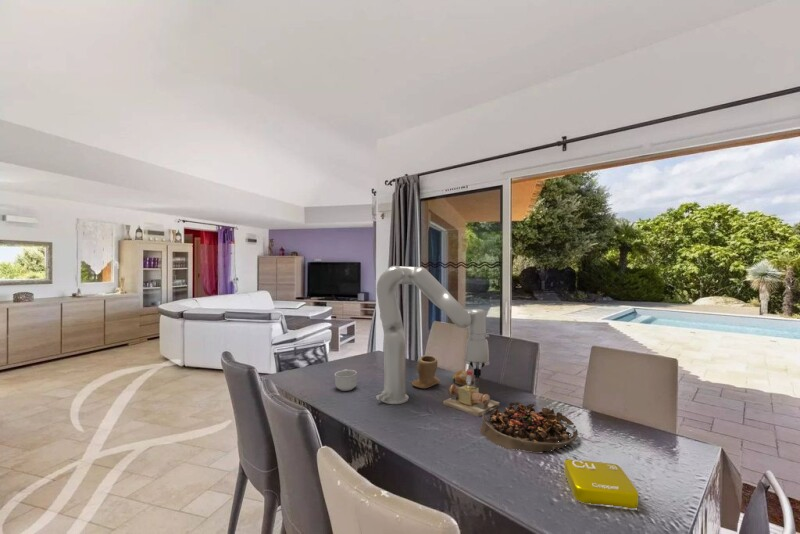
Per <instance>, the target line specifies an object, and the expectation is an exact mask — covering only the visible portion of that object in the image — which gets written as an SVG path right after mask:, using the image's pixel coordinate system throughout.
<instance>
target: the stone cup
mask: <svg viewBox="0 0 800 534" xmlns="http://www.w3.org/2000/svg"><path fill="white" fill-rule="evenodd" d="M416 366H417V367H416V368H417V373H418V379H415V380H414V381H412V382H411V385H412V386H414V387H415V388H418V389H428V388H431V387H432V386H435V385H437V384H439V383H441V380H440V379H439V378H438V377H436V373H437V369H438V359H437V357H436V356H434V355H430V354H428V355H426V354H425V355H424V354H423V355H421V356H420V357H419V358H418V360H417V365H416Z"/></svg>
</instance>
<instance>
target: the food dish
mask: <svg viewBox="0 0 800 534" xmlns="http://www.w3.org/2000/svg"><path fill="white" fill-rule="evenodd" d="M498 405H499V406H500V404H497V405H494V406H491V407H490V408H494V407H497V406H498ZM499 406H498V407H499ZM514 406H516V408H515V407H514ZM498 407H497V408H498ZM534 407H535V404H534V403H528V405H526V406H525V405H524V404H521V402H519V401H518V402H517V401H512V402H510V403H509V404H508V408H507V407H505V410H504V411H503V413H501V412H500V409H499V408H498V409H496V408H495V409H493V412H492V413H491V411H490V410H489V409H490V408H488V409H486V410H485V411H488V412H487V413H489V419H488V417H486V416H485V414H486V413H485V411H484V413H485V414H484V413H483V415H481V416H482V417H481V418H482V423H481V426H480V429H479V431H480V434H481V435H483V436H484V437H485V438H487V441H489V440H490V441H489V442H491V443H493V444H494V445H495V446H498V445H499V447H500V446H501V447H500V448H503V447H504V448H503V449H505V448H506V449H505V450H508V449H510V450H509V451H512V450H511V449H515V450H514V451H517V450H519V449H520V450H525V451H532V452H543V451H551V450H553V449H556V450H559V449H558V448H562V447H563V446H565V445H568V446H569V445H570V444H571V443H573V442H574V441H575V440H576V439H577V437H578V436H579V432H578V429H576V428H577V426H576V425H575V423H574V422H572V420H571V419H569V418H568V417H567V416H565V415H563V413H562V412H559V411H558V412H556V413H555V410H554V409H553V408H551V409H550V408H547V407H541V411H539V412H537V411H536V410H535V408H534ZM561 422H565V423H566V424H567V425H570V426H573V429H575V430H574V431H572V434H571V432H569V431H567V429H568V427H567V425H565V426H564V425H563V423H562V424H561ZM569 434H571V436H569ZM558 441H559V442H558ZM563 448H564V447H563ZM563 448H562V449H563ZM516 449H517V450H516ZM553 451H554V450H553ZM532 452H531V453H532ZM543 453H544V452H543Z"/></svg>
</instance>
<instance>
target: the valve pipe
mask: <svg viewBox="0 0 800 534" xmlns="http://www.w3.org/2000/svg"><path fill="white" fill-rule="evenodd" d="M448 394H449V395H450V398H451V399H453V400H458V399H459V402H461V403H464V404H467V405H470V406H471V405H473V404H475V403H478V408H481V409H486V408H488V404H489V402H490V400H491V397H490V395H489V394H488V393H480V392H479V387H477V386H473V385H472V384H471V385H470V386H467V385H461V386H458V385H457V384H454V383H452V384H450V386H449V387H448Z"/></svg>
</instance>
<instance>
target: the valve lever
mask: <svg viewBox="0 0 800 534" xmlns="http://www.w3.org/2000/svg"><path fill="white" fill-rule="evenodd" d="M466 371H467V378H466V382H467V386H470V383H471V380H472V379H473V378H474V369H466Z"/></svg>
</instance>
